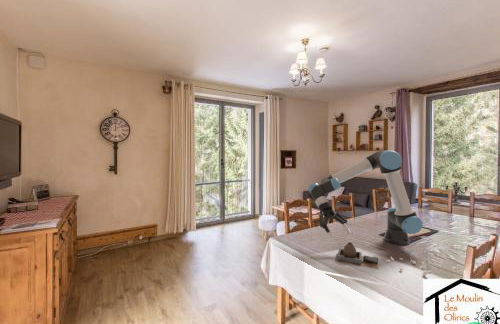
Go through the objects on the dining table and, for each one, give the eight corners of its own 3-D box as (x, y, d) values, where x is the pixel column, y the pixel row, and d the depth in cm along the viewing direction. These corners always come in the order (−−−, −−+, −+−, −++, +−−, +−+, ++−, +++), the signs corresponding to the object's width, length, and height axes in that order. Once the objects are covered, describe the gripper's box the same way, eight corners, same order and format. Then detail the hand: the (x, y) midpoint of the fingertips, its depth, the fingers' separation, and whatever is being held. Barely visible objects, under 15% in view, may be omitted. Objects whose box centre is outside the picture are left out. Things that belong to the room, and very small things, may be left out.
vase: (340, 255, 139) (341, 240, 139) (352, 255, 140) (352, 240, 140) (346, 261, 132) (347, 245, 132) (358, 261, 133) (359, 245, 133)
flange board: (377, 260, 136) (377, 258, 136) (378, 271, 124) (378, 269, 124) (339, 253, 145) (339, 252, 145) (337, 263, 132) (337, 261, 132)
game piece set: (440, 277, 119) (441, 269, 119) (402, 278, 117) (402, 270, 117) (411, 260, 138) (411, 253, 138) (377, 260, 137) (378, 254, 137)
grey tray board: (377, 259, 136) (377, 254, 135) (378, 268, 125) (378, 262, 125) (339, 252, 144) (339, 247, 144) (337, 260, 133) (337, 255, 133)
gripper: (335, 206, 162) (352, 235, 149) (305, 209, 151) (321, 241, 138) (341, 200, 157) (360, 229, 144) (310, 203, 146) (328, 235, 133)
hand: (341, 235), depth 141 cm, fingers open, 13 cm apart
